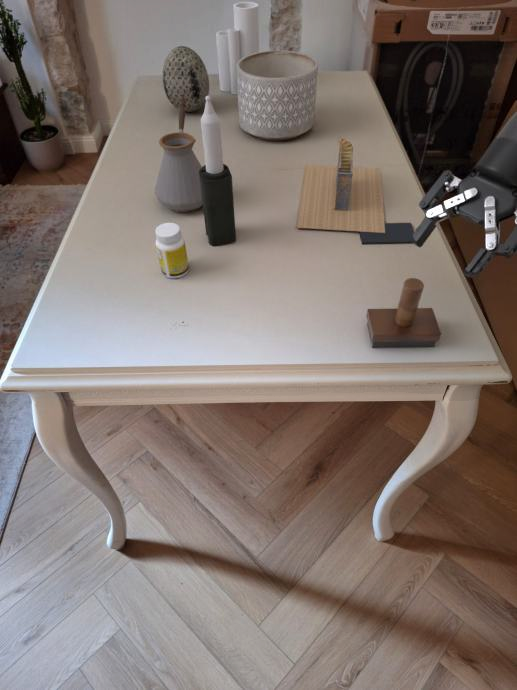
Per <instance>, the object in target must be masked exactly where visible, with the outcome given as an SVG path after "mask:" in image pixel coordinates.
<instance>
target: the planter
mask: <svg viewBox="0 0 517 690" xmlns="http://www.w3.org/2000/svg"><path fill="white" fill-rule="evenodd" d="M236 69H237V89H238V95H237V106H238V125H239V126H240V128H241V129H242V130H243V131H245V132H246V133H247V134H250V135H252V136H253V137H256V138H257V139H261V140H267V141H286V140H291V139H295V138H297V137H300V136H301V135H303V134H305V133H307V132H308V131H310V130H311V129H312V128H313V126H314V125H315V119H316V118H315V117H316V100H317V87H318V86H317V85H318V70H319V62H318V60H317V59H316V58H314V57H313V56H311V55H309V54H307V53H302V52H300V51H293V50H283V49H282V50H279V49H278V50H265V51H259V52H257V53H253V54H250V55H247V56H245V57H243V58H241V59H240V60H239V61H238V62H237V65H236Z"/></svg>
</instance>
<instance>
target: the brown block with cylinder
mask: <svg viewBox="0 0 517 690" xmlns="http://www.w3.org/2000/svg"><path fill="white" fill-rule="evenodd" d="M401 289H402V290H401V294H400V297H399V301H398V305H397V308H396V307H393V308H367V311H366V320H367V321H366V322H367V323H366V326H367V329H368V335H369V339H370V345H371V348H373V349H385V348H387V349H388V348H391V349H393V348H434V347H435V345H436V343H437V342H439V341H440V339H441V336H442V331H441V329H440V326H439V323H438V321H437V318H436V314H435V312H434V309H433V307H419V304H420V302H421V297H422V294H423V291H424V289H425V284H424V282H423V281H422V280H420V278H415V277H410V278H406V279H405V280H404V282H403V286H402V288H401Z"/></svg>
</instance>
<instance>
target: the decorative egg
mask: <svg viewBox="0 0 517 690" xmlns="http://www.w3.org/2000/svg"><path fill="white" fill-rule="evenodd" d="M208 73H209V72H208V69H207V67H206V65H205V62H204V61H203V59H202V58H201V56H200V55H199V53H197V52H196V51H195V50H194V49H192V48H190V47H188V46H186V45H185V46H184V45H180V46H177V47H174V48H172V49H171V50H170V52H169V53H168V54H167V55H166V58H165V60H164V63H163V67H162V86H163V90H164V94H165V96H166V97H167V98H166V99H168V101H169V102H170V104H171V105H172V106H174V108H176V109H177V110H179V111H180V106H179V104H180V103H181V99H179V98H181V97H182V96H184V97H186V98H188V99H189V100H190V101H189V100H188V99H186V98H185V102H184V104H186V103H188V102H189V103H188V104H186V107H185V108H184V110H185V113H186V112H187V113H192V112H195V111H197V110H199V109H200V108H202V107H203V106H204V104H206V100H205V98H206V96H209V93H210V79H209V74H208ZM178 100H179V102H180V103H179V102H178Z"/></svg>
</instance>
